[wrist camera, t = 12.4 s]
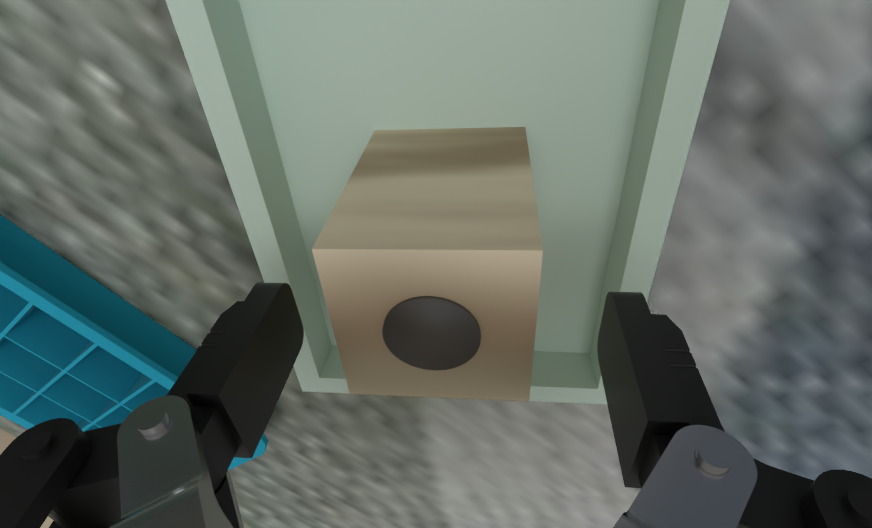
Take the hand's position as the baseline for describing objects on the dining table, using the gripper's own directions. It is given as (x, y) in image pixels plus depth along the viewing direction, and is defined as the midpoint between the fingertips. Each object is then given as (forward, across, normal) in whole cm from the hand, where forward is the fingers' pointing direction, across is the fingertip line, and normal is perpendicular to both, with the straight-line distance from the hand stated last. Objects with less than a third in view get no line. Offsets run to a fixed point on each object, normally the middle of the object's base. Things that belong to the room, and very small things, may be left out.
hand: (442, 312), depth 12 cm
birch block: (+6, 0, 0) cm, 6 cm away
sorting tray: (+7, 0, 0) cm, 7 cm away
